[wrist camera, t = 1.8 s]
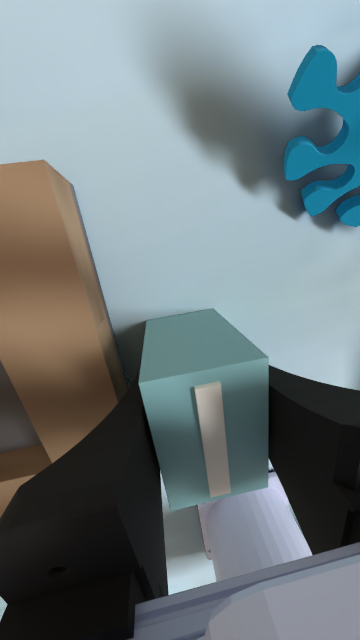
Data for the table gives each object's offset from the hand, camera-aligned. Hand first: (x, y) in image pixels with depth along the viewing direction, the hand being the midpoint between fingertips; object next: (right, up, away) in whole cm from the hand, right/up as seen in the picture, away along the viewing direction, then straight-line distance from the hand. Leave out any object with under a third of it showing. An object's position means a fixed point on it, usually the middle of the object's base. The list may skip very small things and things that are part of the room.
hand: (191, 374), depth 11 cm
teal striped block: (0, +1, +2) cm, 2 cm away
